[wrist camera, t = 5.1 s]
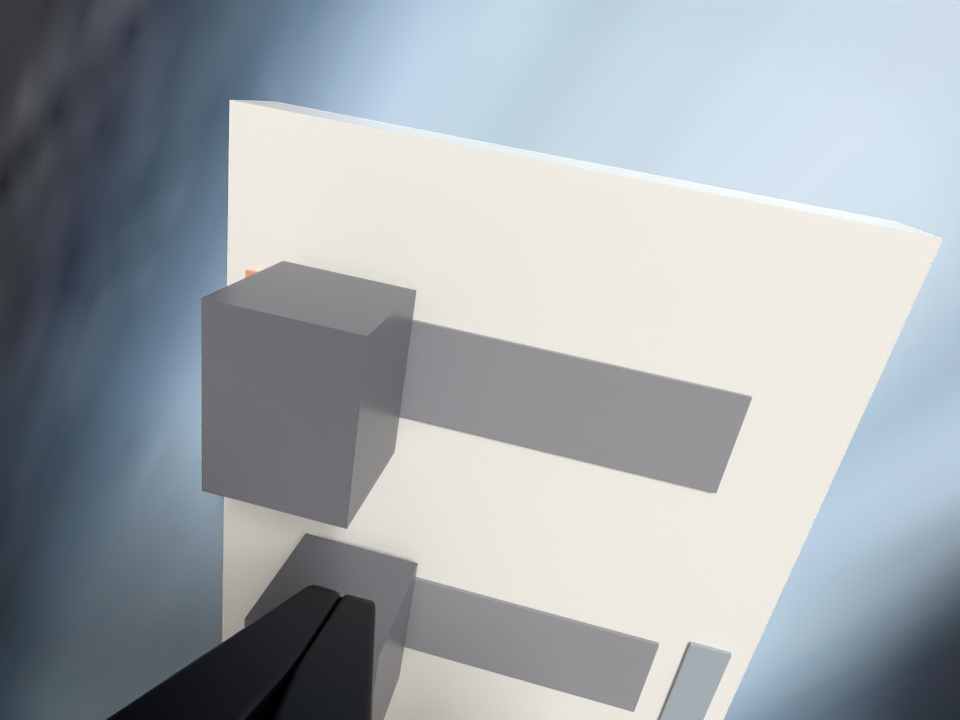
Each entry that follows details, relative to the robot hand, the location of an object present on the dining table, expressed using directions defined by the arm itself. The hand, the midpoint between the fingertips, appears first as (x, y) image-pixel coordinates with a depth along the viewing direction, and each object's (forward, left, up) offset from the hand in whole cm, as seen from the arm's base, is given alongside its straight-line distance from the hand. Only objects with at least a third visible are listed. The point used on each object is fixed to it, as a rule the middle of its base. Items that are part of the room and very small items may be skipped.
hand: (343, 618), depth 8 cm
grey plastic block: (+3, 0, -7) cm, 7 cm away
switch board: (-1, +7, -9) cm, 12 cm away
